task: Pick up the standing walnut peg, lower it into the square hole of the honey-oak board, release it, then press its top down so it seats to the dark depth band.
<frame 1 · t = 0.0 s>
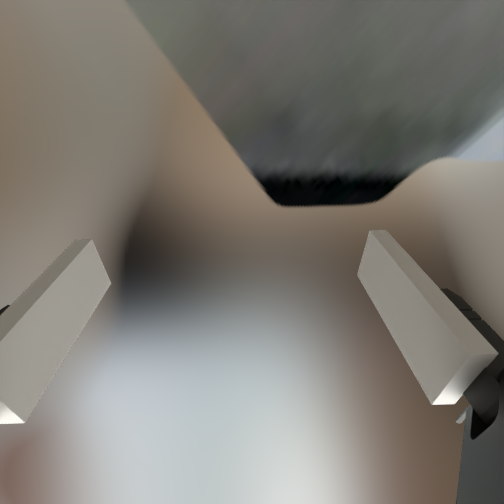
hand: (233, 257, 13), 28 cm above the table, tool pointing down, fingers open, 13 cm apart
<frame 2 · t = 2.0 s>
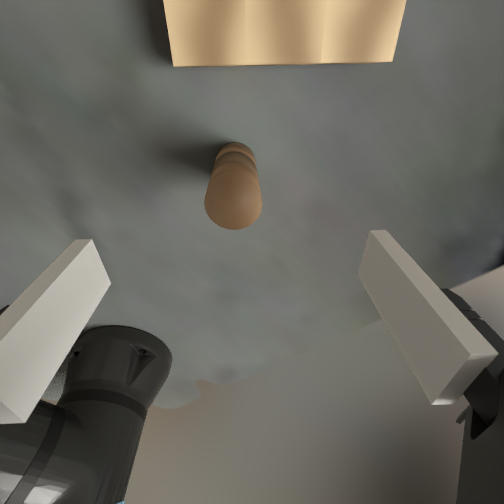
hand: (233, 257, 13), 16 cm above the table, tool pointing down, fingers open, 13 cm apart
peg: (235, 163, 26), on the table
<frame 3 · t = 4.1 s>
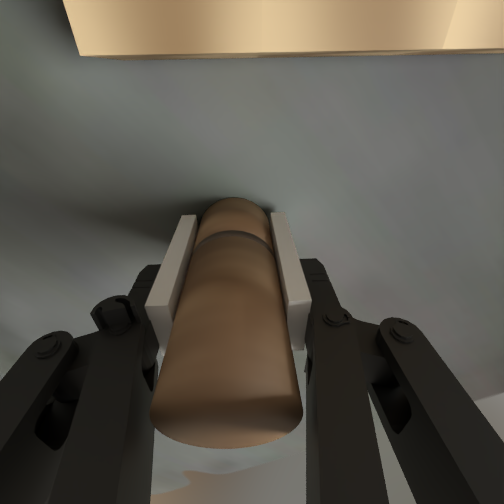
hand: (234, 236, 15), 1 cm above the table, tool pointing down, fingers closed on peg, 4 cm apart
peg: (235, 230, 15), on the table, touching gripper
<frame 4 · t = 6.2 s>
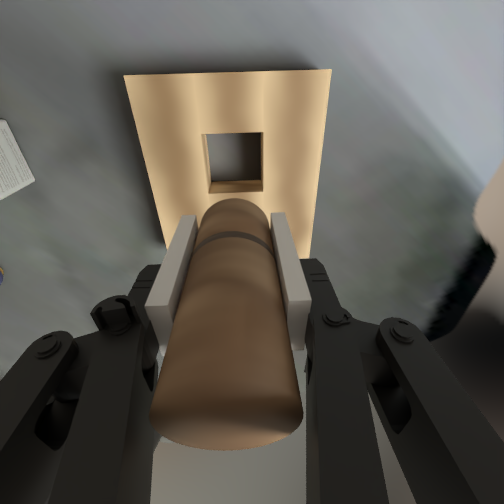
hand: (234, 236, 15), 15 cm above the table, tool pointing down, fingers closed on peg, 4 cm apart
peg: (235, 230, 15), point 15 cm above the table, touching gripper
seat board: (235, 174, 28), on the table
when the fingers open (4 cm above the table, at t = 8.5 s): peg drops 4 cm, resting in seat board.
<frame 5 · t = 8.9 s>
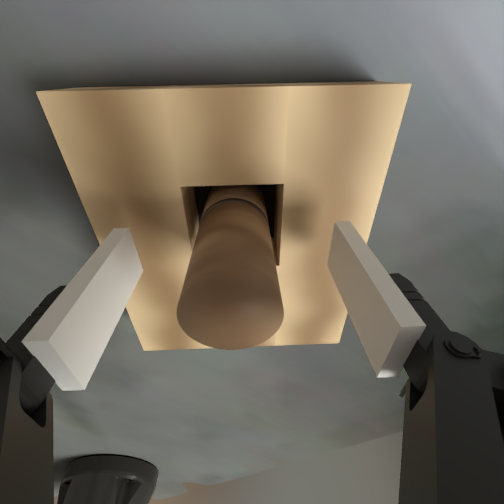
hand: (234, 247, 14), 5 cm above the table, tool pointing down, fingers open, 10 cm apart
peg: (235, 205, 18), resting in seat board
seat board: (237, 230, 19), on the table
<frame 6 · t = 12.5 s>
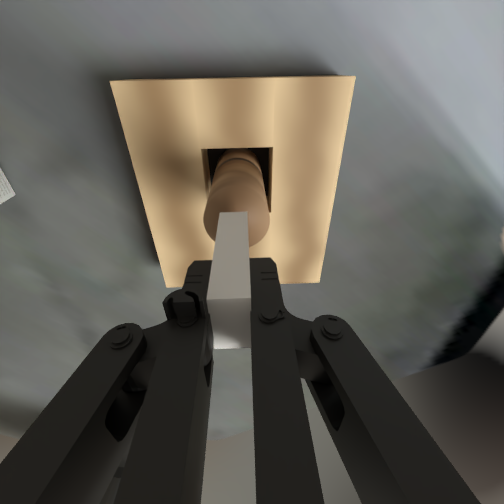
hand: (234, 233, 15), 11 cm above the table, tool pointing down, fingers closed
peg: (238, 169, 24), resting in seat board
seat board: (239, 190, 25), on the table
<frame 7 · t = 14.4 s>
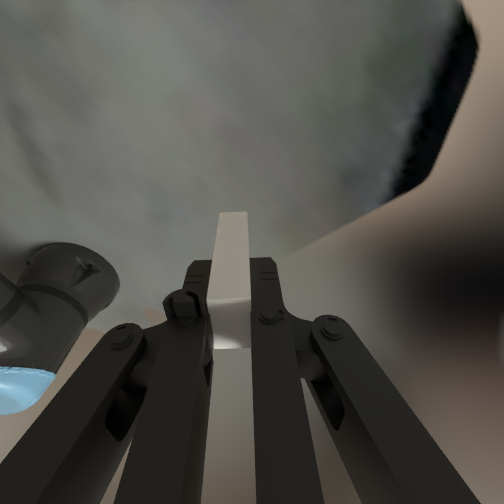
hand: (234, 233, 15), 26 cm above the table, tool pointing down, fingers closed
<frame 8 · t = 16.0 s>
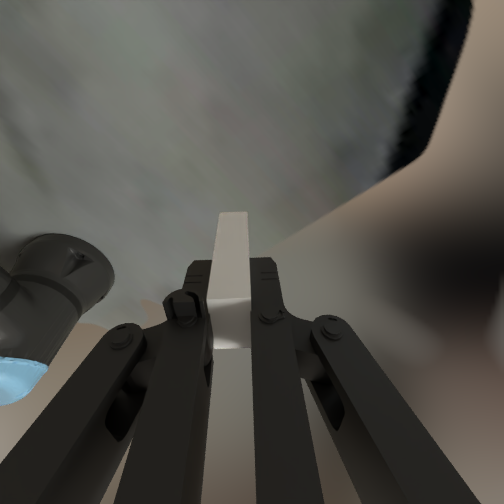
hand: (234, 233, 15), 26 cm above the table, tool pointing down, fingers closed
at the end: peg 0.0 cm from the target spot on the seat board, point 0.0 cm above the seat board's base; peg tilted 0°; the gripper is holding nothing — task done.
